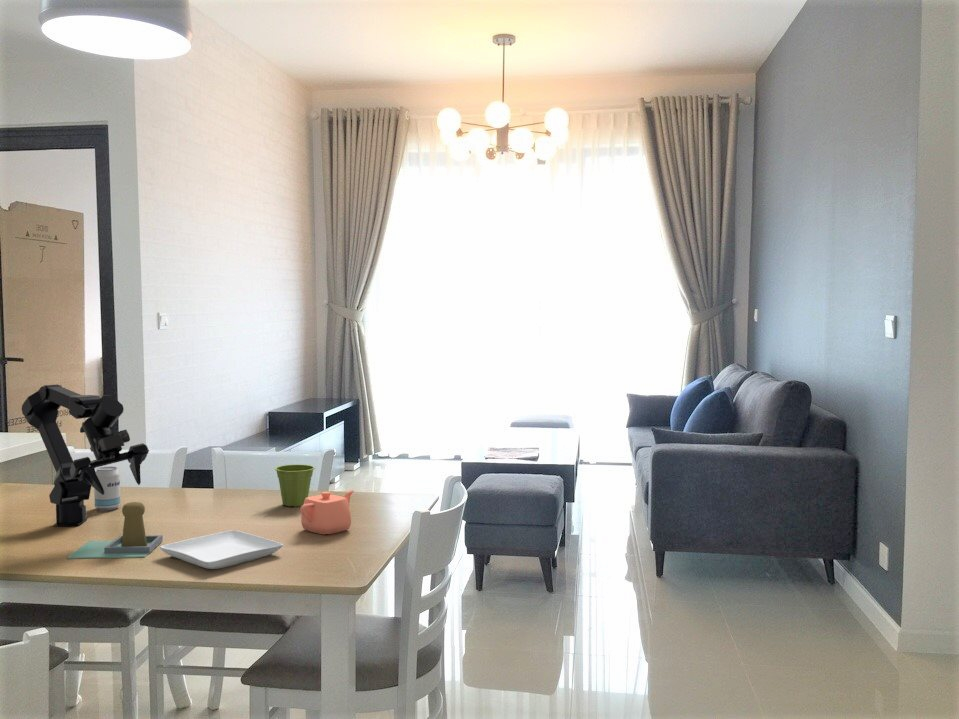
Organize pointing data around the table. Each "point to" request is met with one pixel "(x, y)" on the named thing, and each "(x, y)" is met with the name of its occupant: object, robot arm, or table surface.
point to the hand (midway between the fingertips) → (121, 488)
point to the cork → (133, 525)
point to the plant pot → (294, 483)
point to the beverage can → (108, 489)
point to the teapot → (326, 513)
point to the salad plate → (222, 549)
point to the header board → (116, 549)
